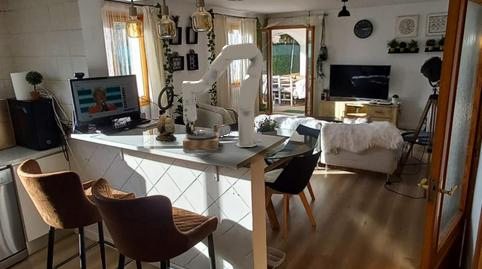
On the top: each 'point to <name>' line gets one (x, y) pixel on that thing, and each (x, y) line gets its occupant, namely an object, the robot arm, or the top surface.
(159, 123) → the owl figurine
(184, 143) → the wheel block
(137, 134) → the top surface
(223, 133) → the tin
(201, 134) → the pot lid
